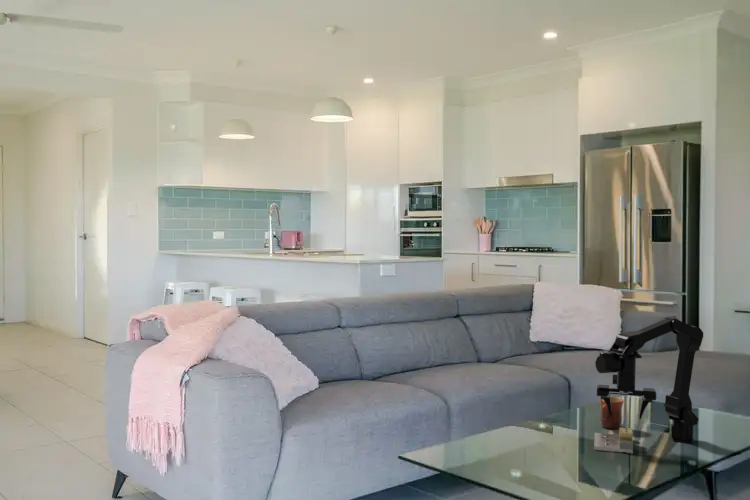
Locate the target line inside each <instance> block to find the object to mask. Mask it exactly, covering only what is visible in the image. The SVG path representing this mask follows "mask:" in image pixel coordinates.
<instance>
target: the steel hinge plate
mask: <svg viewBox="0 0 750 500" xmlns="http://www.w3.org/2000/svg"><path fill="white" fill-rule="evenodd" d="M593 438H594V441H593V442H594V444H593V450H594V451H602V452H614V453H622V452H626V454H634V449H633V448H634V442H633V440H632V441H626V440H620V444H619V434H615V433H603V432H601V433H600V432H594V437H593Z"/></svg>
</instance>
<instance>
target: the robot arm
mask: <svg viewBox="0 0 750 500" xmlns="http://www.w3.org/2000/svg"><path fill="white" fill-rule="evenodd" d="M670 332H671V333H672V334H674V335H675V336H676V344H677V347H678V357H677V365H676V371H675V376H674V383H673V384H674V385H673V389H672V392H671V393H670V394H665V399H664V400H665V401H664V403H663V407H664V408H665V409H664V410H665V412H666V414H667V415H668V419H669V420H672V423H670V437H671V439H672V441H674V442H681V443H694V442H695V441H694V426H695V425H698V422H699V417H698V416H697V415H696V414H695V413H694V412H693V403H692V400H691V396H690V389H691V387H690V386H691V380H692V374H693V369H694V368H693V366H694V360H695V354H696V352H697V351H698V350H699V348H700V347H701V345H702V342H703V340H704V339H703V338H704V331H703V330H702V329H701V327H699V326H695V325H690V324H688V323H685V322H683V321H681V320H680V319H678V318H675V317H670V316H668V317H667V316H666V317H665V318H664V319H661V320H659V321H656V322H655V323H652V324H649V325H647V326H644V327H643V328H641V329H638V330H632V331H624V332H620V333H619V334H617V335H616V337H615V340H614V341H613V343H612V345H611V346H610V348H609V349H608V351H607V352H605V351H600V352H599V355H598V356H597V357H596V359H595V362H594V363H595V368H596V371H597V372H598V373H599V374H609V373H612V382H611V383H612V385H616V388H613V387H610V385H608V384H597V385H596V396H597V397H601V399H604V400H605V403H606V405H607V407H608V410H609V414H610V417H612V410H611V401H610V396H611V395H620V396H621V395H623V396H632V397H633V396H636V397H641V400H640V408H639V414H638V415H639V420H642V417H643V415H644V412H645V410H646V408H647V406H648V405H649V403H653V401H657V391H656V389H655V388H652V387H642V390H640V389H636V367H637V365H636V364H637V363H636V359H642V358H643V357H642V355H641V354H640V353H639V352H638V351H639V350H641V349H642V348H643V347H644V345H645V344H646V343H648V342H650V341H652V340H655V339H657V338H659V337H661V336H664V335H666V334H669V333H670ZM613 373H617V374H613Z"/></svg>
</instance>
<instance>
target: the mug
mask: <svg viewBox="0 0 750 500" xmlns="http://www.w3.org/2000/svg"><path fill="white" fill-rule="evenodd" d="M598 401H599V405H600V419H599V420H600V425H601V426H602V428H604V429H608V430H619V429H620V427H621V428H622V422H623V419H622V418H623V412H622V410H623V405H624V401H625V400H624V399H623V398H622V397H617V396H611V395H610V401H611V410H612V417H610V414H609V410H608V407H607V405H606V403H605V400H604V399H601V396H599V398H598Z"/></svg>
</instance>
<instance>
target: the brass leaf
mask: <svg viewBox="0 0 750 500" xmlns="http://www.w3.org/2000/svg"><path fill="white" fill-rule="evenodd" d="M618 435H619V444H620V440H626V441H633V428H632V427H631V428H629V427H622V426H621V427H620V428H618Z"/></svg>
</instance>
